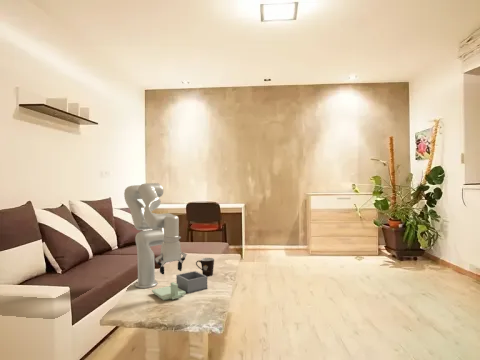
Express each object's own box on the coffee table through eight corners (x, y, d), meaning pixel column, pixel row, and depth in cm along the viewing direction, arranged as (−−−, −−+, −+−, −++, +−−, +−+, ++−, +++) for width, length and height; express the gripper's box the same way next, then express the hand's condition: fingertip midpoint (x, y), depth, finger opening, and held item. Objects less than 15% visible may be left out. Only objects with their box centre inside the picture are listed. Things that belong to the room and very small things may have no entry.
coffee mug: (217, 274, 211) (217, 259, 211) (207, 277, 204) (206, 261, 204) (205, 271, 219) (205, 256, 219) (195, 274, 212) (194, 258, 212)
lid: (152, 294, 176) (151, 279, 176) (173, 289, 184) (173, 275, 184) (165, 303, 163) (164, 287, 163) (187, 297, 170) (187, 282, 170)
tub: (176, 287, 187) (176, 274, 187) (195, 282, 194) (195, 271, 194) (188, 293, 176) (187, 280, 176) (207, 288, 183) (207, 276, 183)
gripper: (183, 236, 179) (182, 267, 179) (152, 240, 169) (152, 273, 169) (189, 238, 173) (189, 270, 173) (158, 242, 163) (158, 277, 163)
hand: (171, 271), depth 171 cm, fingers open, 9 cm apart
